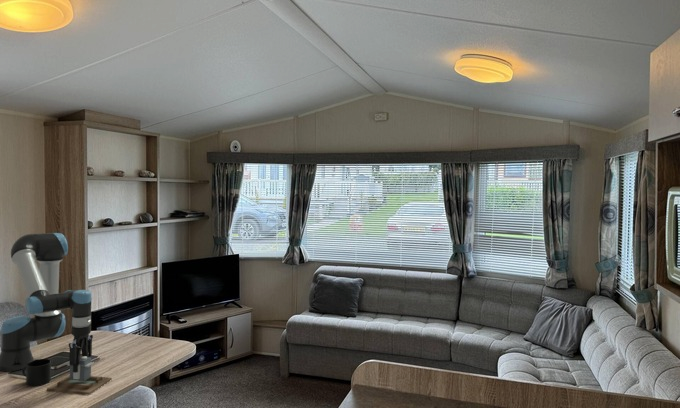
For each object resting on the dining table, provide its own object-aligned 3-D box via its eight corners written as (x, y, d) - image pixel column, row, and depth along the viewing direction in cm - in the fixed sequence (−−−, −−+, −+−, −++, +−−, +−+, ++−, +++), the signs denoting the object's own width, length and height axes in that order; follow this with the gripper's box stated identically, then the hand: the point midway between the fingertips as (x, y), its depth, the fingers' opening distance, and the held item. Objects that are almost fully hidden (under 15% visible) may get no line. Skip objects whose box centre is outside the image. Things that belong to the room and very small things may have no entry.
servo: (66, 379, 212) (67, 357, 211) (73, 375, 216) (73, 354, 216) (87, 381, 210) (87, 359, 210) (93, 377, 215) (94, 356, 215)
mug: (28, 377, 219) (29, 358, 219) (55, 378, 220) (55, 359, 219) (15, 386, 210) (15, 366, 210) (42, 386, 210) (43, 366, 210)
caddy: (46, 390, 207) (46, 385, 206) (71, 376, 222) (71, 371, 222) (89, 394, 204) (89, 389, 204) (111, 379, 220) (111, 374, 220)
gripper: (76, 331, 203) (75, 385, 204) (101, 320, 221) (100, 369, 221) (59, 330, 204) (59, 383, 205) (86, 319, 222) (85, 368, 222)
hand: (80, 376), depth 213 cm, fingers closed on servo, 4 cm apart
